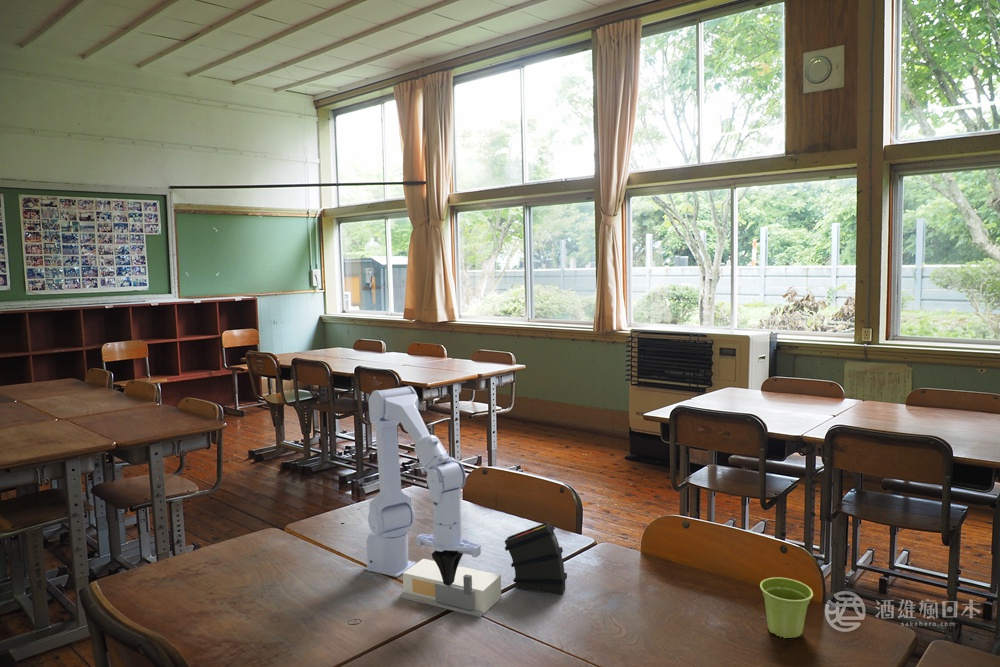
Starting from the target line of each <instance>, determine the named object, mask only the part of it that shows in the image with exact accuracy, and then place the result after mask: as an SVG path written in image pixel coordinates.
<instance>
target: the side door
mask: <svg viewBox="0 0 1000 667" xmlns="http://www.w3.org/2000/svg"><path fill="white" fill-rule="evenodd" d="M463 581H464V588H462V587H457V586H453V585H450V586H448V585H444V583H440V582H436V583H435V601H436V602H439V603H444V604H448V605H452V606H456V607H460V608H464V609H468V610H472V611H473V610H474V590H472V576H471V575H467V574H466V575H464V576H463Z"/></svg>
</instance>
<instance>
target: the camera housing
mask: <svg viewBox="0 0 1000 667" xmlns="http://www.w3.org/2000/svg"><path fill="white" fill-rule="evenodd" d="M466 574H467V575H471V576H472V590H474V610H473V611H472V610H468V609H464V608H460V607H456V606H452V605H448V604H444V603H439V602H436V601H435V583H436V582H440V583H443V579H442V576H441V573H440V570H439V568H438V566H437V564H436V562H435V561H434V560H433V559H427V558H422V559H421V560H419V561H418V562H416V564H415V565H413V566H412V567H410V568H409V569H408V570H406V571H405V572H403V574H402V582H403V583H402V585H403V586H402V588H403V592H402V593H400V594H399V598H400V599H401V598H402V599H405V600H410V601H413V602H417V603H420V604H421V603H422V604H425V605H429V606H434V607H438V608H442V609H446V610H449V611H454V612H457V613H463V614H466V615H470V616H473V617H474V616H475V617H477V618H478V617H479V618H481V617H483V615H485V613H486V612H488V610H489V609H491V608H492V607H493V606H494V605H495V604H496V603H497V602H498V601H499V600H500V599H501V598H502V576H501V574H498V573H494V572H493V573H492V572H488V571H484V570H479V569H473V568H469V567H465V566H461V565H460V566H459V565H458V567H457V570H456V574H455V579H454V582H453V583H452V584H451V585H453V586H457V587H462V588H464V581H463V576H464V575H466Z"/></svg>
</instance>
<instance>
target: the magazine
mask: <svg viewBox="0 0 1000 667" xmlns="http://www.w3.org/2000/svg"><path fill="white" fill-rule="evenodd" d="M555 529H556V528H555V525H551V523H550V521H547V522H545V523H542V524H538V525H537V526H533V527H531V528H528V529H526V530H522V531H521V532H518V533H515V534H512V535H510V536H508V537H507V538H506V539H505V540H504V544H505V546H504V550H505V551H506V552H507V551H508V552H509V554H510V557H511V560H512V563H511V564H510V566H511V568H513V569H514V575H515V577H514V578H513V583H515V588H516V589H521V590H527V591H532V592H533V591H534V592H539V593H547V594H551V595H552V594H553V595H561V596H563V594H564V592H565V591H566V580H567V579H568V572H566V571H565V565H564V560H563V555H562V553H563V552H564V550H563V547H562V546H560V545H559V541H558V538H557V536H556V533H555V532H554V531H555Z"/></svg>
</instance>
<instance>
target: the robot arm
mask: <svg viewBox="0 0 1000 667" xmlns="http://www.w3.org/2000/svg"><path fill="white" fill-rule="evenodd" d="M368 414H369V423H370V424H373V425H374V426H375V442H376V455H377V468H378V469H377V470H378V483H379V492H378V493H377V494H376V495H375V496H374V497H373V498H372V499H371V500H370V501H369V506H368V508H369V512H368V515H367V516H368V517H367V522H368V526H369V529H370V532H369V533H368V536H367V539H366V565H367V566H366V567H365V571H369V572H373V573H378V574H382V575H386V576H391V577H394V578H398V577H400V576H401V575H403V572H405V571H406V570H408V569H409V568H410V567H412V566H413V565H415V564H416V563H417V562H416V561H413V560H409V539H408V534H409V533H408V532H410V531H411V527H412V526H413V525H414V522H415V520H416V519H415V518H416V516H415V514H416V513H415V508H414V507H413V503H412V502H413V500H412V497H411V496H410V495H409V494H408V493H406V492H404V491H402V481H401V480H402V478H401V465H400V463H401V462H400V452H399V451H400V450H399V437H398V425H399V424H401V425H402V426H403V428H404V430H406V432H407V434H408V435H409V436H410V437H411V439H412V440H413V441H414V443H415V445H414V449H413V450H414V453H415V455H416V456H417V458H418V460H419V462H420V464H421V465H422V467H423V469H424V470H425V472H426V473H427V474H426V476H425V477H426V484H427V487H428V489H429V497H430V500H431V501H432V513H433V514H432V516H433V534H428V533H427V534H425V533H420V534H418V535H417V536H416V537H415V538H416V539H415V540H416V541H415V542H416V546H418V547H423V546H425V547H430V548H433V549H434V551H433V552H432V553H431V558H432V560H433V561H435V562H436V564H437V566H438V568H439V570H440V573H441V576H442V579H443V583H444V585H448V586H450V585H451V584H452V583H453V582H454V579H455V574H456V570H457V567H458V566H459V564H460V561H461V560H462V557H463V555H469V556H471V557H472V558H478V557H479V556H480V555H481V553H482V550H481V549H482V548H481V547H482V546H481V544H477V543H475V542H473V541H470V540H467V539H465V538H462V508H461V506H462V504H461V489H462V488H464V487H465V485H466V482H467V481H466V480H467V476H466V470H465V468H464V465H463V463H462V462H461V461H459V459H458V460H457V459H455V458H454V457H451V456H450V454H448V452H447V450H446V448H445V447H444V446H443V444H442V442H441V440H440V439H439V437H438V436H436V435H433V434H430V431H429V430H428V427H427V425H426V424H425V422H424V420H423V417H422V416H421V413H420V411H419V397H418V394H417V391H416V390H415V389H414V387H413V386H412V385H408V386H403V387H396V388H388V389H381V390H378V389H376V390H373V391H372V392H371V394H370V396H369V398H368Z"/></svg>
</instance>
